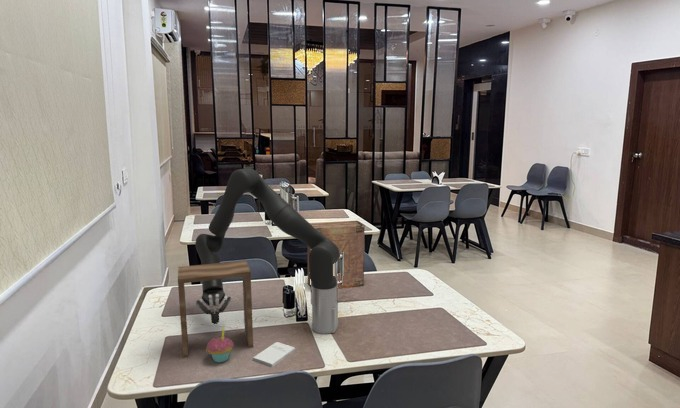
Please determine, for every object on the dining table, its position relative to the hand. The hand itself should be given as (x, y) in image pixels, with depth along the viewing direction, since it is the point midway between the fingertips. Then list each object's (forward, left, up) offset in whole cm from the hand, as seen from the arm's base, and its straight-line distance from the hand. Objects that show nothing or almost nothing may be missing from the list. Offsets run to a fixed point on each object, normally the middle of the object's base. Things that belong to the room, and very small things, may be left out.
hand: (215, 323), depth 161 cm
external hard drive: (-26, +9, -5) cm, 28 cm away
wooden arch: (-4, +6, -4) cm, 9 cm away
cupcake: (-9, +15, -5) cm, 18 cm away
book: (-33, -58, -5) cm, 67 cm away
